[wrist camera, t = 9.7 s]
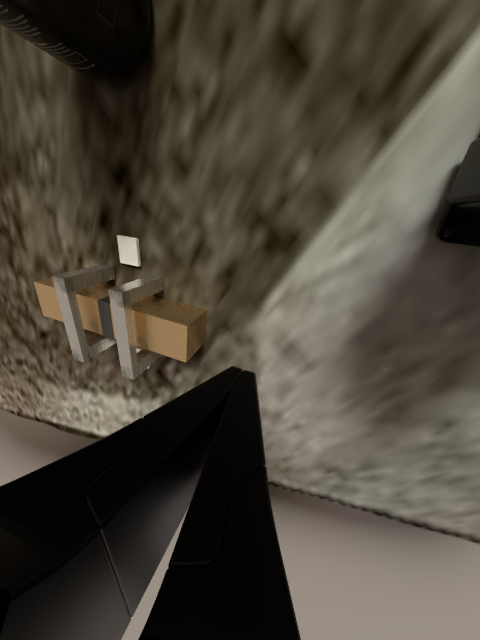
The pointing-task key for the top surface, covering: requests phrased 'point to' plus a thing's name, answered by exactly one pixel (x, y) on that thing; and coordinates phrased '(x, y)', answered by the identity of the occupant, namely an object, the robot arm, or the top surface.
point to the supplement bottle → (85, 33)
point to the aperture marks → (129, 255)
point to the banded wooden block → (135, 319)
